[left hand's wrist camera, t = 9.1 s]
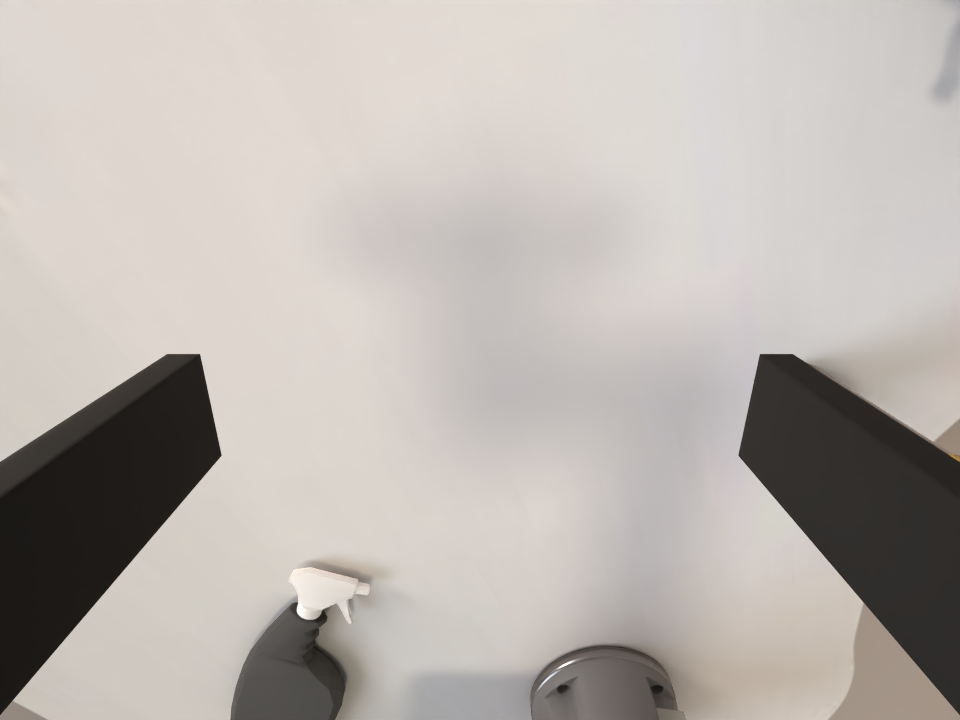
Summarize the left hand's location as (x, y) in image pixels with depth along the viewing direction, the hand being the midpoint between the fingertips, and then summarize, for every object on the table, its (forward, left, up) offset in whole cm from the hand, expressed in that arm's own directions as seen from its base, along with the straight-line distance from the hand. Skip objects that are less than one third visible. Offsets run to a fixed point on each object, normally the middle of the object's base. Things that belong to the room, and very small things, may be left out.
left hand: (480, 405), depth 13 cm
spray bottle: (-43, +18, -28) cm, 54 cm away
